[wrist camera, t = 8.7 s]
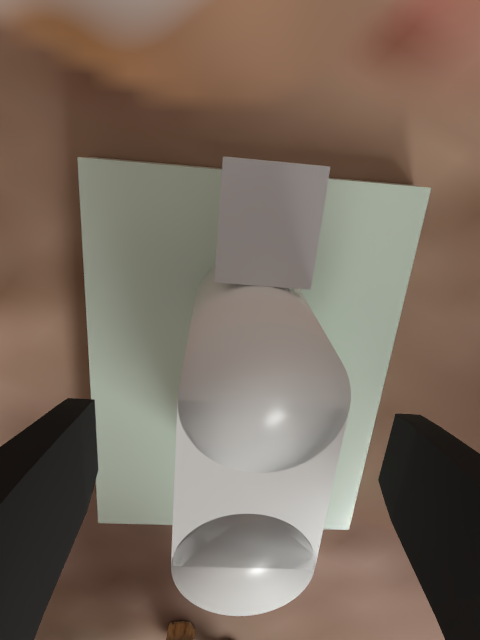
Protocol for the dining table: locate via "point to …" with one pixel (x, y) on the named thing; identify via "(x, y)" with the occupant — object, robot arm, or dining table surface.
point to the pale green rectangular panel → (178, 301)
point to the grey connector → (257, 400)
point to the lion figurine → (180, 631)
